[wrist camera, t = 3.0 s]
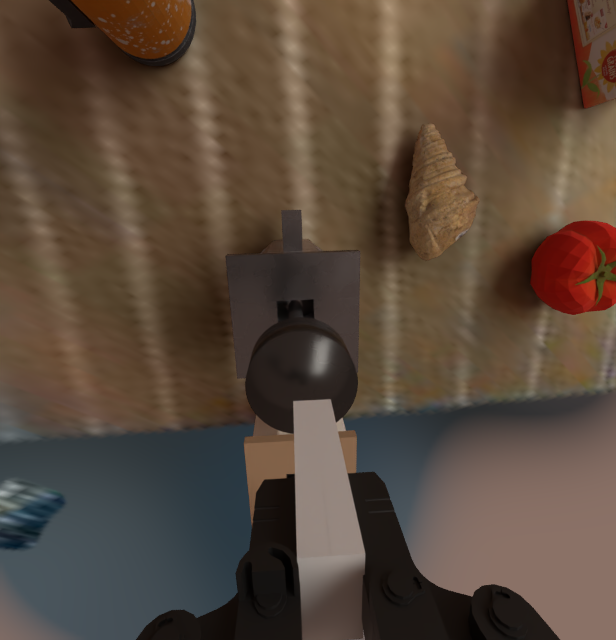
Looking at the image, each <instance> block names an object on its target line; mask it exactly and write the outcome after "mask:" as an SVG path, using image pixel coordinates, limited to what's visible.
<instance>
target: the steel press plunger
mask: <svg viewBox="0 0 616 640" xmlns="http://www.w3.org/2000/svg"><path fill="white" fill-rule="evenodd" d="M277 308H278V323H276V324H274V325H272V326H271V327H269V328H268V329H267V330H266V331H265V332H264V333H263V334H262V335H261V336H260V337H259V339H258V340H257V342H256V343H255V346H254V348H253V351H252V355H251V359H250V363H249V367H248V371H247V375H246V382H245V388H246V395H247V399H248V402H249V404H250V406H251V408H252V409H253V411H254V412H255V414H256V415H257V416H258V417H259V418H260V419H261V420H262V421H263V422H264V423H266V424H267V425H269V426H270V427H272V428H274V429H276V430H279V431H282V432H286V433H290V434H294V412H293V401H306V400H325V399H331V403H332V407H333V412H334V416H335V421H336V423H337V422H338V421H339V420H340V419H341V418H342V417H343V416H344V415H345V414H346V413H347V412H348V410H349V409H350V407H351V406H352V404H353V402H354V399H355V397H356V393H357V387H358V377H357V372H356V368H355V366H354V363H353V361H352V359H351V356H350V354H349V352H348V350H347V347H346V345H345V343H344V341H343V339H342V338H341V337H340V335H339V334H338V333H337V332H336V331H335V330H334V329H333V328H332V327H330V326H329V325H327V324H325V323H324V322H321V321H319V320H316V319H313V299H309V300H284V301H277Z"/></svg>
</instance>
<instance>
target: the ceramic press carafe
mask: <svg viewBox="0 0 616 640" xmlns="http://www.w3.org/2000/svg"><path fill="white" fill-rule="evenodd" d="M336 425H337V430H338V434H339V438H340V443H341V447H342V452H343V456H344V461H345V465H346V470H347V473H356V446H357V441H356V440H357V436H356V433H355V431H346V430H345V426H344V422H343V418H341V419H340V420H339V421H338V422H337V423H336ZM244 451H245V460H246V471H247V481H248V491H249V501H250V512H251V522H252V523H253V515H254V506H255V498H256V492H257V490H258V489H259V487H260V485H261V484H262V482H263V481H264V479H281V478H287V474H295V454H294V434H290V433H286V432H282V431H279V430H276V429H274V428H272V427H270V426H269V425H267V424H266V423H264V422H263V421H262V420H261V419H260V418H259V417H258V416H257V415H256V419H255V426H254V433H253V436H252V437H245V440H244Z"/></svg>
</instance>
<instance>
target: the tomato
mask: <svg viewBox="0 0 616 640" xmlns="http://www.w3.org/2000/svg"><path fill="white" fill-rule="evenodd" d="M531 261H532V274H531V281H530V284H531V286H532V288H533V289H534V291H535V293H536V294H537V296H538V298H540V299H541V300H542V301H543V302H545V303H546V304H547V305H549V306H550V307H552V308H553V309H555V310H558V311H560V312H563V313H567V314H571V315H575V314H580V313H584V312H589V311H600V310H606V309H608V308H610V307H611V306H613V305H614V304H615V303H616V228H615V227H613V226H611V225H609V224H607V223H603V222H598V221H577V222H573V223H571V224H568V225H566V226H565V227H564V228H562V229H561V230H559V231H558V232H556V233H554V234H552V235H550V236H548V237H547V238H546V239H545V240H544V241H543V242H542V244H541V245H540V246H539V247H538V248H537V250H536V252H535V254H534V256H533V258H532V260H531Z"/></svg>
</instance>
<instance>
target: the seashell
mask: <svg viewBox="0 0 616 640" xmlns="http://www.w3.org/2000/svg"><path fill="white" fill-rule="evenodd" d="M440 136H441V134H440V133H439V131H438V130H436V128H435V126H434V125H433V124H425V125H422V127H421V130H420V132H419V135H418V139H417V141H416V144H415V149H414V150H415V154H414V155H413V170H412V173H411V179H410V182H409V189H410V191H409V195H408V197H407V199H406V201H405V208H406V211H407V214H408V216H409V229H410V230H409V233H410V239H409V240H410V243H411V245H412V247H413V248H414V249H415V252H416V253H417V254H418V255H419V256H420V258H421V259H423V260H426V261H427V260H430V259H432V258H436V257H438V256H439V255H441V254H442V253H443V252H444V250H445V249H447V248H448V247H450V246H451V245H452V244H453V243H454V242H456V241H457V240H458V239H459V238H460V237H461V236H462V235H464V234H465V233H466V232H467V231H468V229H469V228H470V227H471V225H472V223H473V219H474V218H475V216H476V215H475V210H476V208H477V205H478V203H479V198H478V197H477V196H475V195H474V193H473V192H472V191H471V190H467V189H466V188H465V186H464V184H465V182H466V179H467V177H466V175H463V174H461V170H460V169H458V168H457V167H456V165H455V163H456V159H455V158H454V157H453V156H452V153H451V152H449V151H448V150H447V147H446V144H445V141H444V139H441V137H440Z"/></svg>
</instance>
